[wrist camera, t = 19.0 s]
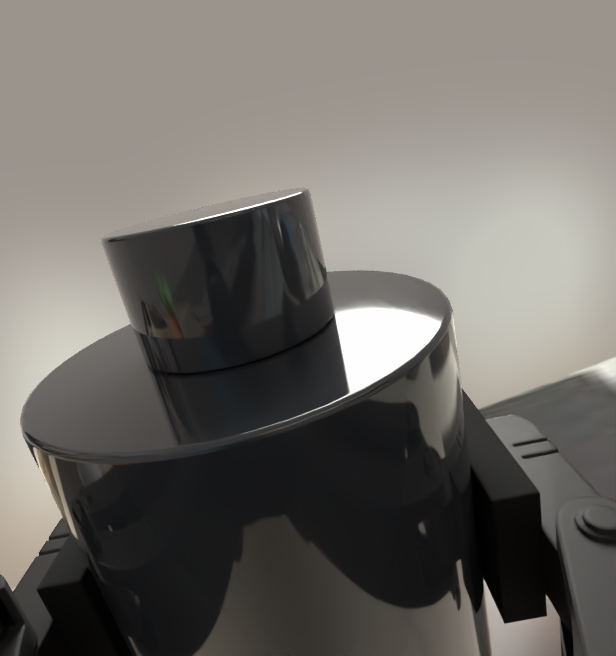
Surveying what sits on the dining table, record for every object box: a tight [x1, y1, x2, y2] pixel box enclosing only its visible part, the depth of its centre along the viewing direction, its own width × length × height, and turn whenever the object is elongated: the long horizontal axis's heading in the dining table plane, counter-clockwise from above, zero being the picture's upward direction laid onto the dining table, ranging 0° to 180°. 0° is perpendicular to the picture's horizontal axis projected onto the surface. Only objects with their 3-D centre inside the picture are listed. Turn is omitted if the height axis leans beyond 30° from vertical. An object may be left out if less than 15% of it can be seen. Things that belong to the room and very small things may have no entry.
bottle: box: [20, 188, 492, 656], centre depth 10 cm, size 7×7×16 cm
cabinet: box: [484, 580, 561, 656], centre depth 29 cm, size 17×15×9 cm
